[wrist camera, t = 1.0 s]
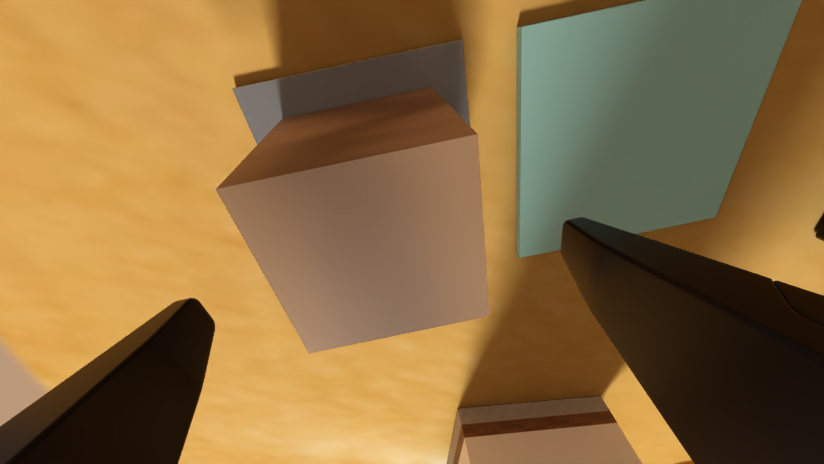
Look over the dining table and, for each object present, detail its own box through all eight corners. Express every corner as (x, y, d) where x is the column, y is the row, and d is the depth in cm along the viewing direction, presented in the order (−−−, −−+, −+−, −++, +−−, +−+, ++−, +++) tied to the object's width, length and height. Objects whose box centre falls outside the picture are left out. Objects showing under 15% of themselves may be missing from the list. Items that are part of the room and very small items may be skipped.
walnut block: (431, 86, 12) (477, 133, 7) (448, 216, 15) (489, 316, 10) (282, 118, 12) (216, 189, 7) (330, 241, 15) (308, 353, 10)
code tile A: (460, 39, 11) (462, 39, 11) (476, 229, 16) (478, 232, 15) (235, 87, 11) (231, 88, 11) (313, 263, 16) (312, 267, 15)
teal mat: (803, -35, 11) (816, -36, 11) (708, 213, 17) (715, 217, 16) (516, 27, 11) (521, 27, 11) (516, 253, 17) (519, 258, 16)
